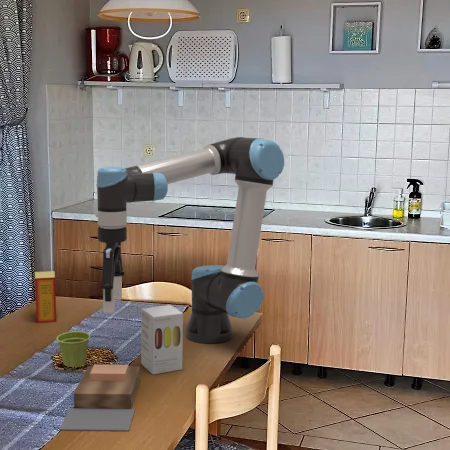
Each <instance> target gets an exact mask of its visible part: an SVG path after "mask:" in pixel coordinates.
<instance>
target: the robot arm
mask: <svg viewBox="0 0 450 450" xmlns="http://www.w3.org/2000/svg"><path fill="white" fill-rule="evenodd" d="M284 167H285V156H284V152H283V150H282V149H281V148H280V145H279V144H278V143H277V142H275V141H274V140H272V139H271V140H270V139H266V138H255V137H243V136H236V137H230V138H227V139H224V140H220V141H217V142H214V143H213V142H212V143H210V144H206V145H205V146H203V148H202V149H199V150H194V151H191V152H186V153H183V154H178V155H173V156H170V157H166V158H161V159H158V160H154V161H149V162H146V163H140V164H139V165H133V166H131V167H130V166H129V167H125V168H124V167H121V166H107V167H106V166H104V167H101V168H99V169H98V170H97V174H96V175H97V176H96V177H97V178H96V190H97V191H96V193H97V194H96V195H97V213H95V217H96V218H97V225H98V228H97V240H98V242H100V243H105V244H106V245H105V248H103V250H102V253H103V254H102V256H103V257H102V274H101V275H102V276H101V285H99V289H100V290H103V291H102V294H103V296H102V302H103V307H102V308H103V309H102V310H103V314H115V300H116V301H122V300H123V297H122V296H123V293H122V291H123V289H122V288H123V287H122V286H123V285H122V284H123V281H122V280H123V279H122V278H123V277H124V276H125V271H124V267H123V257H122V256H123V255H122V243H123V242H126V241H127V237H128V236H127V235H128V234H127V232H128V230H127V227H126V225H127V224H128V223H127V222H128V219H127V217H128V214H127V211H128V210H127V203H130V204H131V203H141V202H155V201H161V200H164V198H166V197H167V194H168V187H169V184H172V183H177V182H181V181H186V180H188V179H192V178H193V179H194V178H196V177H200V176H203V175H207V174H209V175H211V176H215V175H221V174H232V175H234V182H235V183H236V185H237V187H238V189H237V190H238V191H237V196H236V202H235V210H234V215H233V221H232V223H233V224H232V229H231V236H230V241H229V242H230V244H229V248H228V254H227V263H226V264H225V265H223V264H222V265H221V264H208V265H201V266H198V267H195V268H194V269H192V272H191V279H190V281H191V313H190V316H189V320H188V323H187V325H186V330H185V334H186V335H185V336H186V338H187V339H188V340H190V341H192V342H194V343H195V342H196V343H199V344H219V343H224V342H227V341H230V340H231V339H232V338H233V335H234V332H233V331H234V329H233V326H232V322H231V319H230V317H233V318H238V319H247V318H251V317H252V316H253V315H254V314H255V313H257V312H258V310H259V309H260V307H262V304H263V301H264V290H263V289H262V287H261V285H260V284H259V278H260V277H259V275H260V274H259V273H258V272H257V270H256V263H257V257H258V251H259V245H260V237H261V232H262V231H261V230H262V224H263V218H264V211H265V205H266V198H267V192H268V190H270V189H272V187H273V185H274V180H276V179H277V178H279V176H280V174H282V172H283V170H284ZM122 276H123V277H122Z"/></svg>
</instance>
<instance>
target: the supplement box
mask: <svg viewBox="0 0 450 450" xmlns="http://www.w3.org/2000/svg"><path fill="white" fill-rule="evenodd" d="M140 312H141V313H140V314H141V318H140V321H141V323H140V324H141V325H140V326H141V327H140V328H141V329H140V330H141V332H140V333H141V338H140V340H141V341H140V343H141V344H140V346H141V349H140V350H141V352H140V356H141V358H140V360H141V362H140V363H141V365H142V367H144V368H145V369H146V370H147V371H149V373H151V375H159V374H163V373H164V374H165V373H169V372H176V371H180V370H181V371H182V370H183V342H184V341H183V339H184V338H183V337H184V336H183V334H184V331H183V329H184V326H183V324H184V315H183V312H182V311H181V310H179V309H177V308H176V307H174V306H173V305H171V304H169V305H168V304H167V305H159V306H152V307H142V308H141V311H140Z"/></svg>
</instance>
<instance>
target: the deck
mask: <svg viewBox="0 0 450 450" xmlns="http://www.w3.org/2000/svg"><path fill="white" fill-rule="evenodd" d="M93 367H94V365H88V366H87V367H86V369H85V371H84V373H83V375H82V376H81V379H80V380H79V382H78V385H77V387H76V388H75V391H74V393H73V408H93V409H133V408H132V407H133V404H134V401H135V399H136V396H137V392H138V388H139V385H140V382H141V366H134V365H133V366H129V372H128V375H127V378H126V381H90V373H91V371H92V369H93Z"/></svg>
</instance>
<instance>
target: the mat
mask: <svg viewBox="0 0 450 450" xmlns="http://www.w3.org/2000/svg"><path fill="white" fill-rule="evenodd" d="M135 410H136V409H135V408H131V409H93V408H74V407H73V408H71V407H70V408H69V409H68V411H67V413H66V416H65V417H64V419H63V421H62V423H61V425H60V426H59V431H76V432H77V431H78V432H81V431H86V432H89V431H90V432H92V431H93V432H94V431H95V432H130V429H131V425H132V421H133V418H134V414H135Z"/></svg>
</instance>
